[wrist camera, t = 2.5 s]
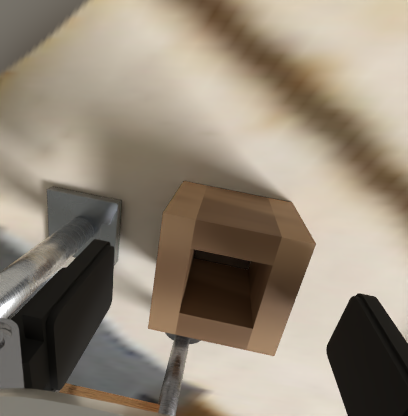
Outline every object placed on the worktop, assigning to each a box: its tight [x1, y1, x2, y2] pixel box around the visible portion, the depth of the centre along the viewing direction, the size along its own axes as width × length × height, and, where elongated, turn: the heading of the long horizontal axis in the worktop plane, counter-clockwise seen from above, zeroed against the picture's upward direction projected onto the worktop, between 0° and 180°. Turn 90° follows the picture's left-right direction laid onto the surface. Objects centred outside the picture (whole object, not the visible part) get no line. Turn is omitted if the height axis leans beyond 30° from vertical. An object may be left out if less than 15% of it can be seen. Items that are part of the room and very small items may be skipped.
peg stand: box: [0, 187, 122, 318], centre depth 14 cm, size 4×4×9 cm
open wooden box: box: [148, 181, 316, 356], centre depth 15 cm, size 6×6×5 cm
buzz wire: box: [60, 332, 201, 416], centre depth 18 cm, size 5×14×7 cm, turn 116°
